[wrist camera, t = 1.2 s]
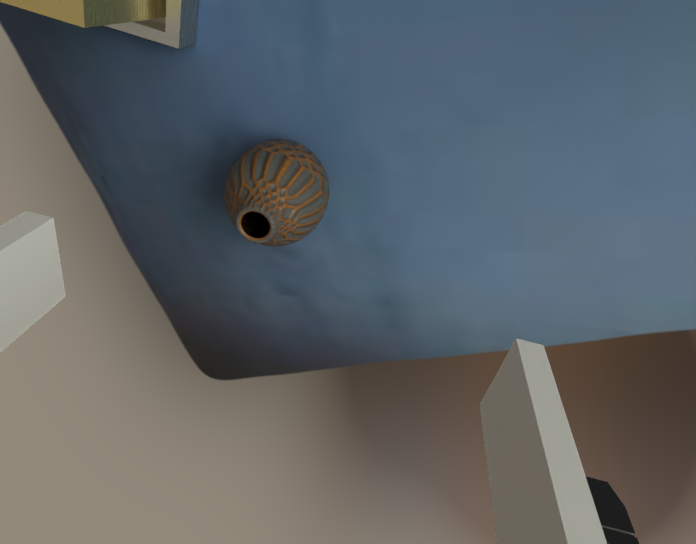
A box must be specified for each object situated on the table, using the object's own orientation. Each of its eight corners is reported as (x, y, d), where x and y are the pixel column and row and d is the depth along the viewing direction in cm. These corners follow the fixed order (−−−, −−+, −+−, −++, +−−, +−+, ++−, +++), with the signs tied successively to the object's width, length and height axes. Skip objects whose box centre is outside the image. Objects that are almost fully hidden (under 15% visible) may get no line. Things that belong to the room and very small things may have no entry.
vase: (237, 195, 37) (189, 249, 29) (260, 112, 33) (212, 150, 25) (318, 229, 37) (291, 291, 30) (349, 152, 33) (328, 200, 26)
